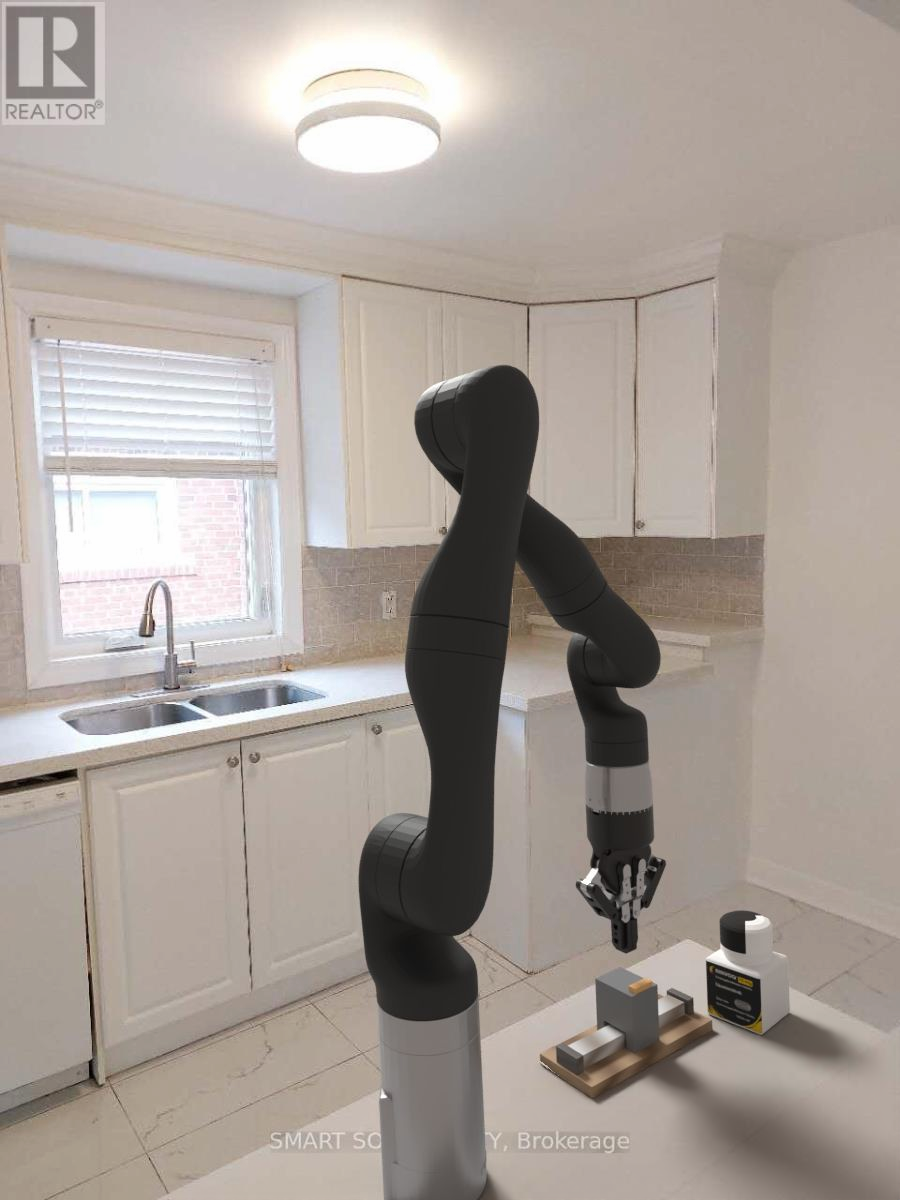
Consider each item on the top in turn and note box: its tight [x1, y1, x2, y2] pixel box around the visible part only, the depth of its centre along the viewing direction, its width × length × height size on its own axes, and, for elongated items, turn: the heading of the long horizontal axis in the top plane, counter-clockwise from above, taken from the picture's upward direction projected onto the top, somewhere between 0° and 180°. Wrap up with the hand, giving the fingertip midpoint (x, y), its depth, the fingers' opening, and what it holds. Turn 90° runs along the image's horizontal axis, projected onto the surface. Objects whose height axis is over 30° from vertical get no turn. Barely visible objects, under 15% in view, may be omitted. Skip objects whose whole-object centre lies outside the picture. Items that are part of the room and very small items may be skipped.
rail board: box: [539, 987, 714, 1099], centre depth 97 cm, size 20×8×3 cm, turn 126°
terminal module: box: [594, 966, 659, 1054], centre depth 97 cm, size 4×6×7 cm
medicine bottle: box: [705, 910, 791, 1036], centre depth 103 cm, size 7×7×12 cm
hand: (625, 949), depth 97 cm, fingers closed
